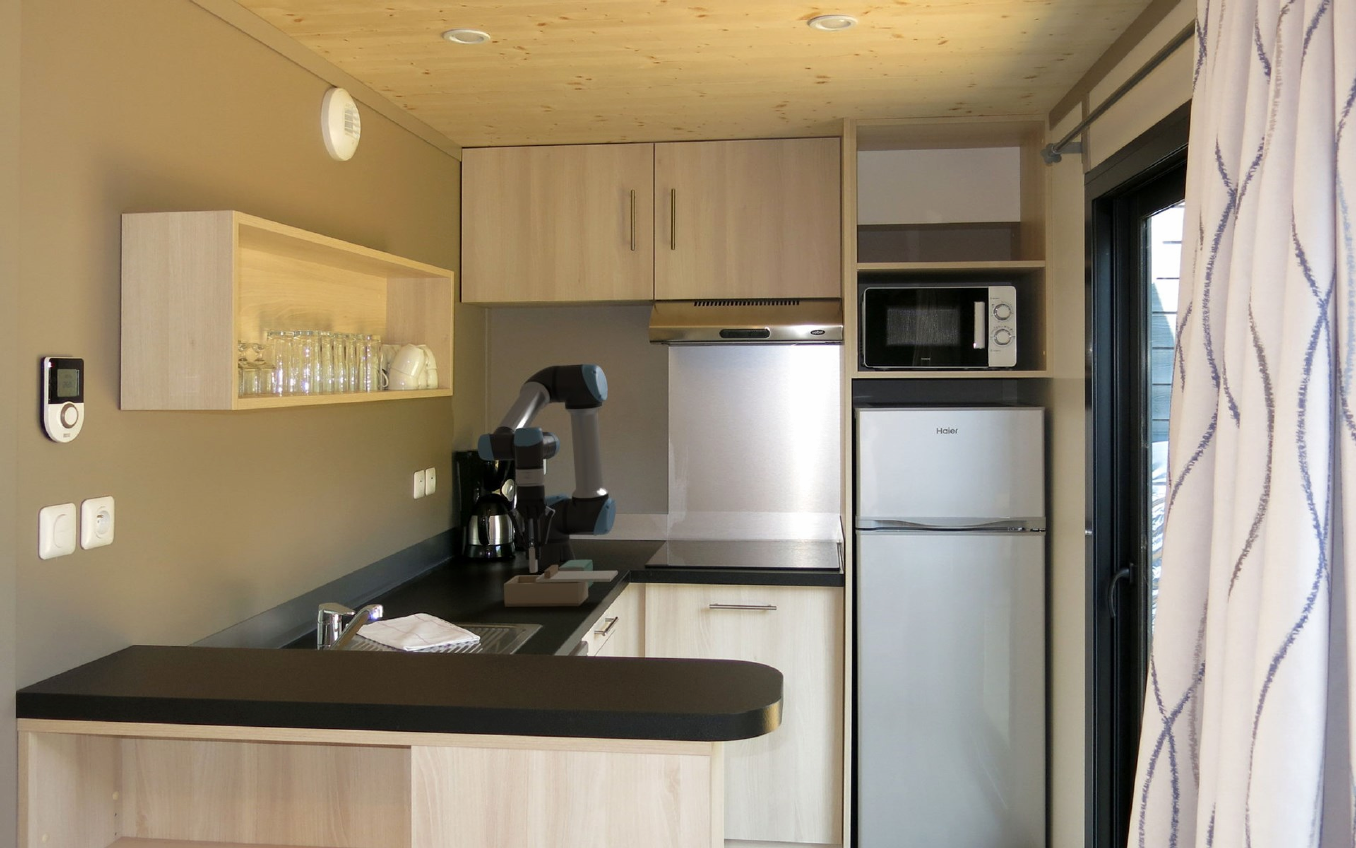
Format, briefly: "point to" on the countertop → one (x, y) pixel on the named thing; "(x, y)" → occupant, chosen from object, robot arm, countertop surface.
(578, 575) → the lid
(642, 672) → the countertop surface
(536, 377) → the robot arm
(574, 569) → the box
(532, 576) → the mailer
